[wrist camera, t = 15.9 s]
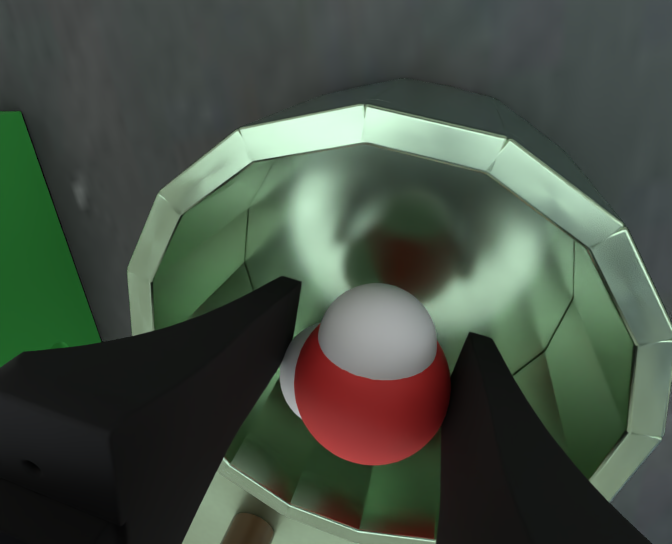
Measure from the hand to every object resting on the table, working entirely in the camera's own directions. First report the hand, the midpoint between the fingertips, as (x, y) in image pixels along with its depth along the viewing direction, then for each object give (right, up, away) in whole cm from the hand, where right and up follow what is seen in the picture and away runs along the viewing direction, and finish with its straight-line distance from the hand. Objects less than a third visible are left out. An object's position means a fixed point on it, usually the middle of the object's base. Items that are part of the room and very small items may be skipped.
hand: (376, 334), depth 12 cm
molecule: (0, 0, +2) cm, 2 cm away
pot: (+1, +2, +3) cm, 4 cm away
